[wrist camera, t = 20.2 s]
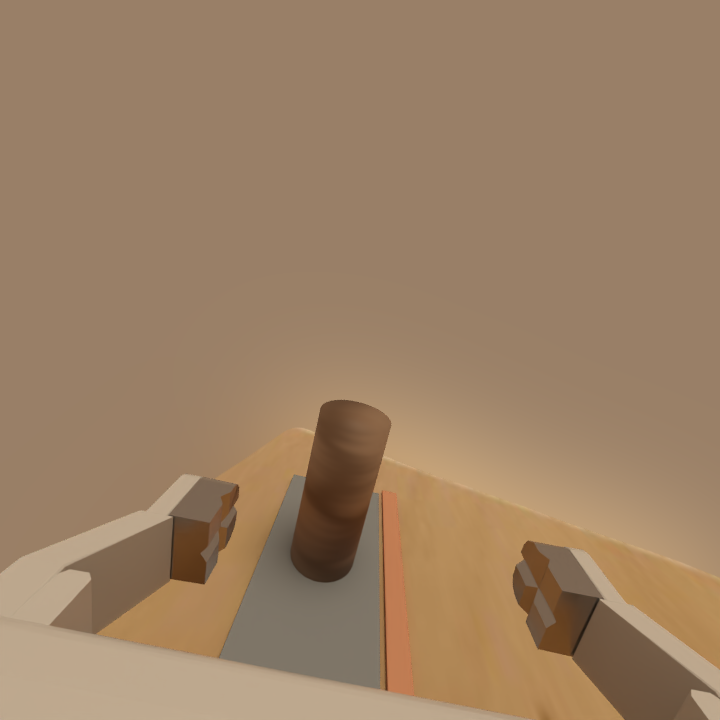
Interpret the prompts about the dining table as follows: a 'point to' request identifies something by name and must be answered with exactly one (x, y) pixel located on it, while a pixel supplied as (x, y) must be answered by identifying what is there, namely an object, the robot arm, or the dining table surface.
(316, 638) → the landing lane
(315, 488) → the brown tall cylinder
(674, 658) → the robot arm
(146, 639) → the dining table surface
